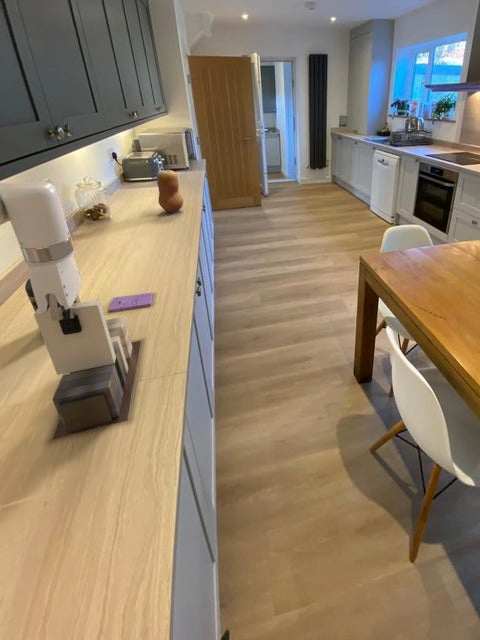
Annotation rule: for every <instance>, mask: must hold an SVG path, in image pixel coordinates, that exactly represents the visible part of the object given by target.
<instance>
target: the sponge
mask: <svg viewBox="0 0 480 640" xmlns="http://www.w3.org/2000/svg"><path fill="white" fill-rule="evenodd" d="M153 296H154V294H153V292H147V293H140V294H132V295H124V296H123V295H122V296H115V297H112V300H111V303H110V306H109V308H108V310H109V313H110V312H118V311H125V310H131V309H137V308H145V307H150V306H152V302H153Z"/></svg>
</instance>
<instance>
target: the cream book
mask: <svg viewBox="0 0 480 640" xmlns="http://www.w3.org/2000/svg"><path fill="white" fill-rule="evenodd" d="M72 307H73V310H74V313H75V315H78V318H79V321H80V325H81V328H82V331H81V332H80V333H74V334H68V335H64V334H63V332H62V329H61V326H60V323H59V321H52V319H51V312H50V307H49V309H48V311H47V312H46V313H43V314H42V313H41V312H40V311H39V309H37V310H36V312H35V311H34V313H33V317H34V319H35V321H36V324H37V326H38V329H39V332H40V334H41V336H42V340H43V342H44V344H45V347H46V350H47V352H48V354H49V358H50V360H51V362H52V365H53V368H54V370H55V373H56V375H57V376H59V375H60V376H61V375H66V374H69V373H70V372H75V371H80V370H85V369H90V368H95V367H100V366H105V365H110V364H114V363H115V360H116V356H115V352H114V348H113V345H112V341H111V338H110V334H109V331H108V327H107V324H106V320H107V319H106V316H105V314H104V309H103V306H102V303H101V300H100V299H93V300H86V301H80V302H79V303H73V304H72ZM62 311H68V310H65V309H63V310H61V312H62Z"/></svg>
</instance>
